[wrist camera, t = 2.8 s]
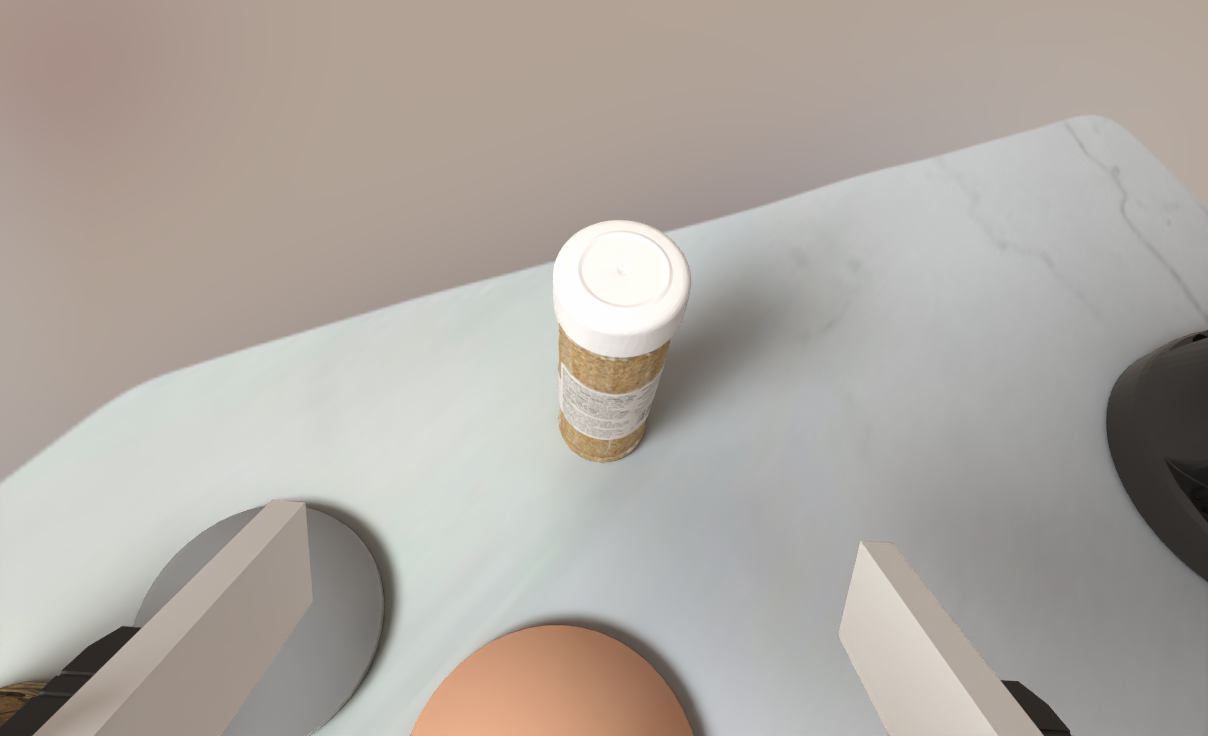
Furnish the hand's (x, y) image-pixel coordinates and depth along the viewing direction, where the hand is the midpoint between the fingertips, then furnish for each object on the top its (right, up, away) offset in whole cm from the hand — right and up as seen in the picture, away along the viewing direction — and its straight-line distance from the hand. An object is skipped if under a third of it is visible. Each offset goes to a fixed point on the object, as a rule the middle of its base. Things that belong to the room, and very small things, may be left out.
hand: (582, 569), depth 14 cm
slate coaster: (-14, -6, +12) cm, 19 cm away
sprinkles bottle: (0, +2, +17) cm, 17 cm away
